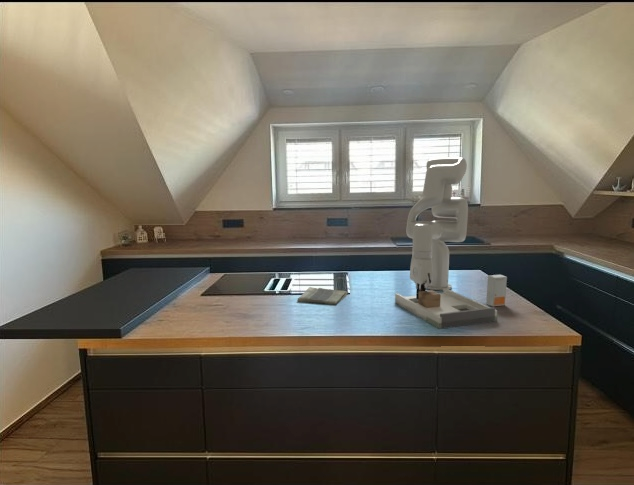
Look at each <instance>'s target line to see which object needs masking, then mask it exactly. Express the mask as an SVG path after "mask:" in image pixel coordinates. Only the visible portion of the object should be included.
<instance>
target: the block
mask: <svg viewBox="0 0 634 485" xmlns="http://www.w3.org/2000/svg"><path fill="white" fill-rule="evenodd" d="M440 293H441V292H437V291H436V290H431V289H427V290H426V291H419V299H418V304H420V305H422V306H424V307H425V308H431V307H440V297H441V294H440Z"/></svg>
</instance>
